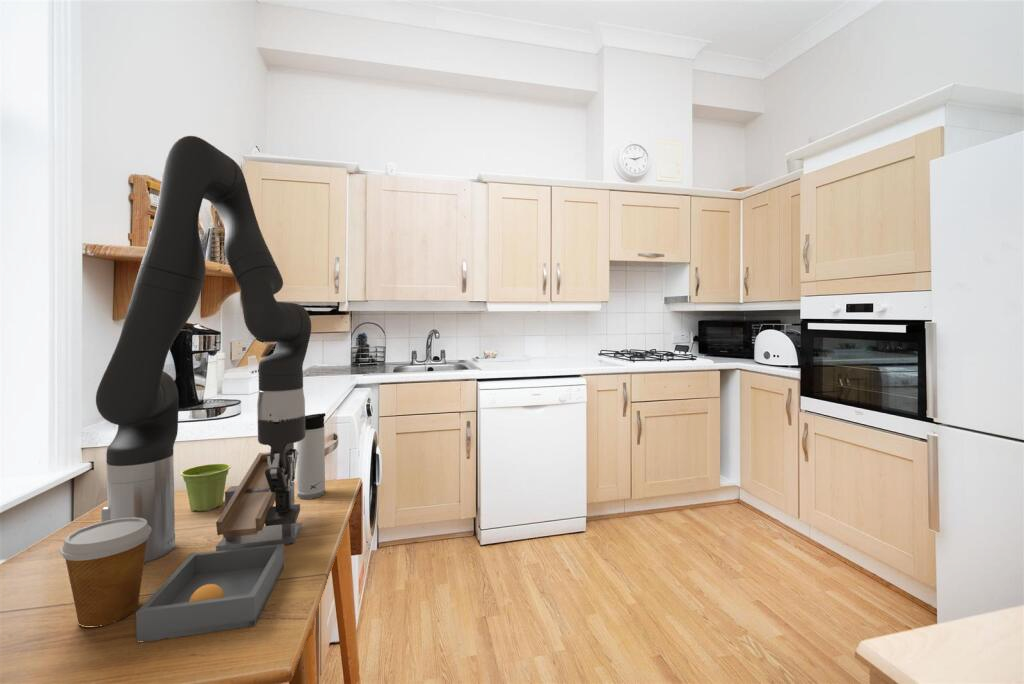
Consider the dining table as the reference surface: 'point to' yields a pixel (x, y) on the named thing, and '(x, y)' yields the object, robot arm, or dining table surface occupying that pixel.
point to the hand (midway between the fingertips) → (283, 510)
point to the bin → (245, 595)
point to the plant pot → (205, 485)
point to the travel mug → (311, 458)
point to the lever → (253, 505)
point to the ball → (207, 593)
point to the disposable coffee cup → (106, 568)
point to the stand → (261, 532)
